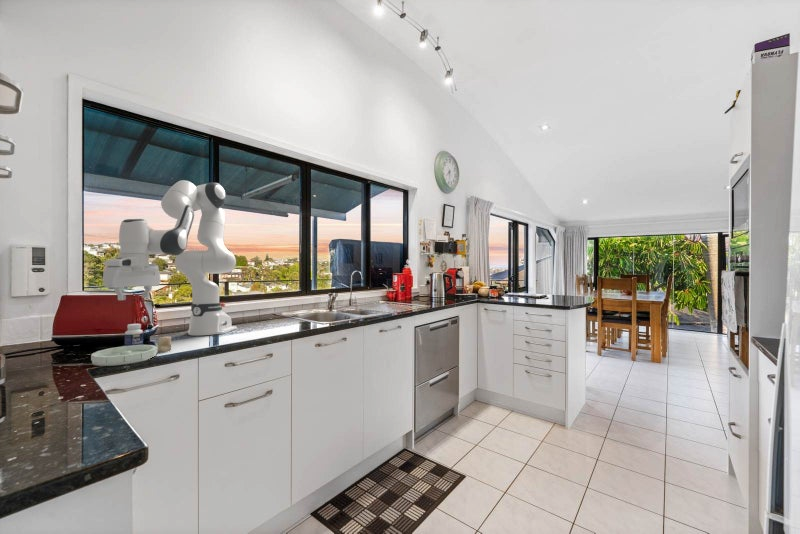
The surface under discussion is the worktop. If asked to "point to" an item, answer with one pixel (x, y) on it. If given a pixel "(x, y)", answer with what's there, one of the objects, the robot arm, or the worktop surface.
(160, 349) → the beech bead
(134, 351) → the dish
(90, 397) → the worktop surface
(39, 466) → the worktop surface
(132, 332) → the pill bottle
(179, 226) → the robot arm
